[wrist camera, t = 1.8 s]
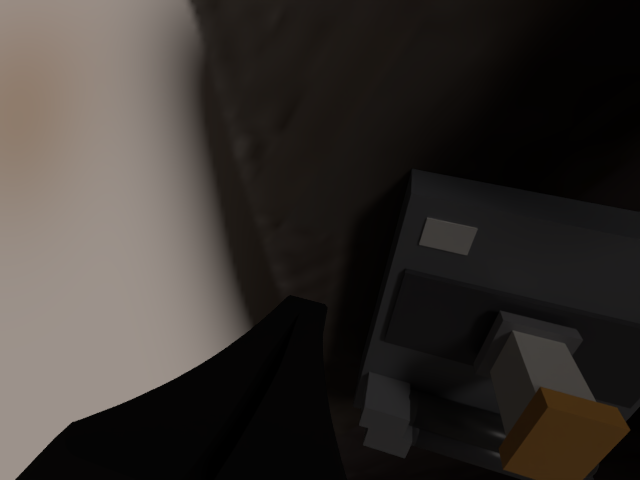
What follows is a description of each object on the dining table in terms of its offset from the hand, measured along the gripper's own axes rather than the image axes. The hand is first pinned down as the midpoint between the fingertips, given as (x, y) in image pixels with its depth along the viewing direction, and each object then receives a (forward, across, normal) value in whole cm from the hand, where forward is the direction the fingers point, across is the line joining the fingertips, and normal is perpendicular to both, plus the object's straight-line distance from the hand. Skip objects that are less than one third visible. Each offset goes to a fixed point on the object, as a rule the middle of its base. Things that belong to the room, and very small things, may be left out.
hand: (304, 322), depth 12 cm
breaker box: (+5, -8, +1) cm, 9 cm away
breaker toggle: (+2, -7, 0) cm, 8 cm away
